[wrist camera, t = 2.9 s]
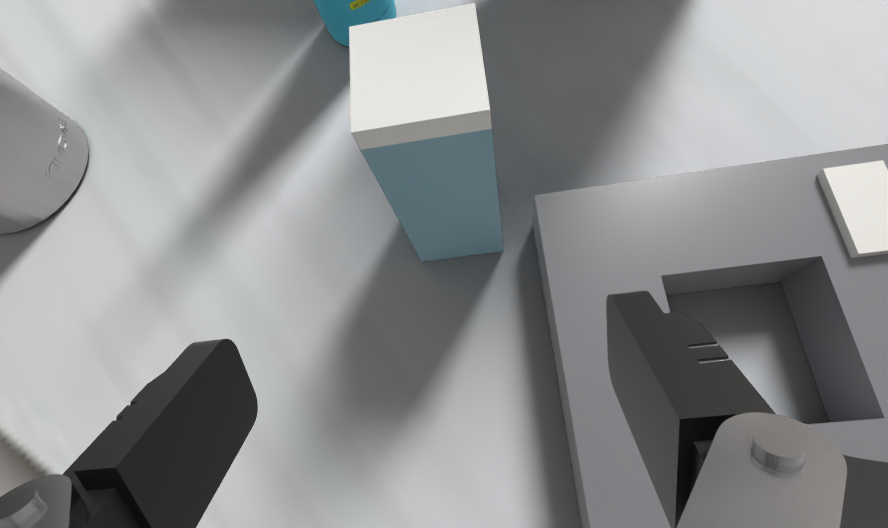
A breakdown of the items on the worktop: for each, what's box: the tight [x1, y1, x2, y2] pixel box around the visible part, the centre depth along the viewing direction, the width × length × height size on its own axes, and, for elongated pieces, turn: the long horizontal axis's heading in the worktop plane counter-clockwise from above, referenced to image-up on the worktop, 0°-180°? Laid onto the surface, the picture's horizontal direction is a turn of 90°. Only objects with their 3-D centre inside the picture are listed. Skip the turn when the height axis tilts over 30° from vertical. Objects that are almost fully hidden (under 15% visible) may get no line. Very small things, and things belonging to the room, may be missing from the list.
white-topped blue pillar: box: [349, 3, 503, 262], centre depth 22 cm, size 4×4×12 cm
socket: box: [533, 144, 888, 528], centre depth 21 cm, size 16×16×4 cm
